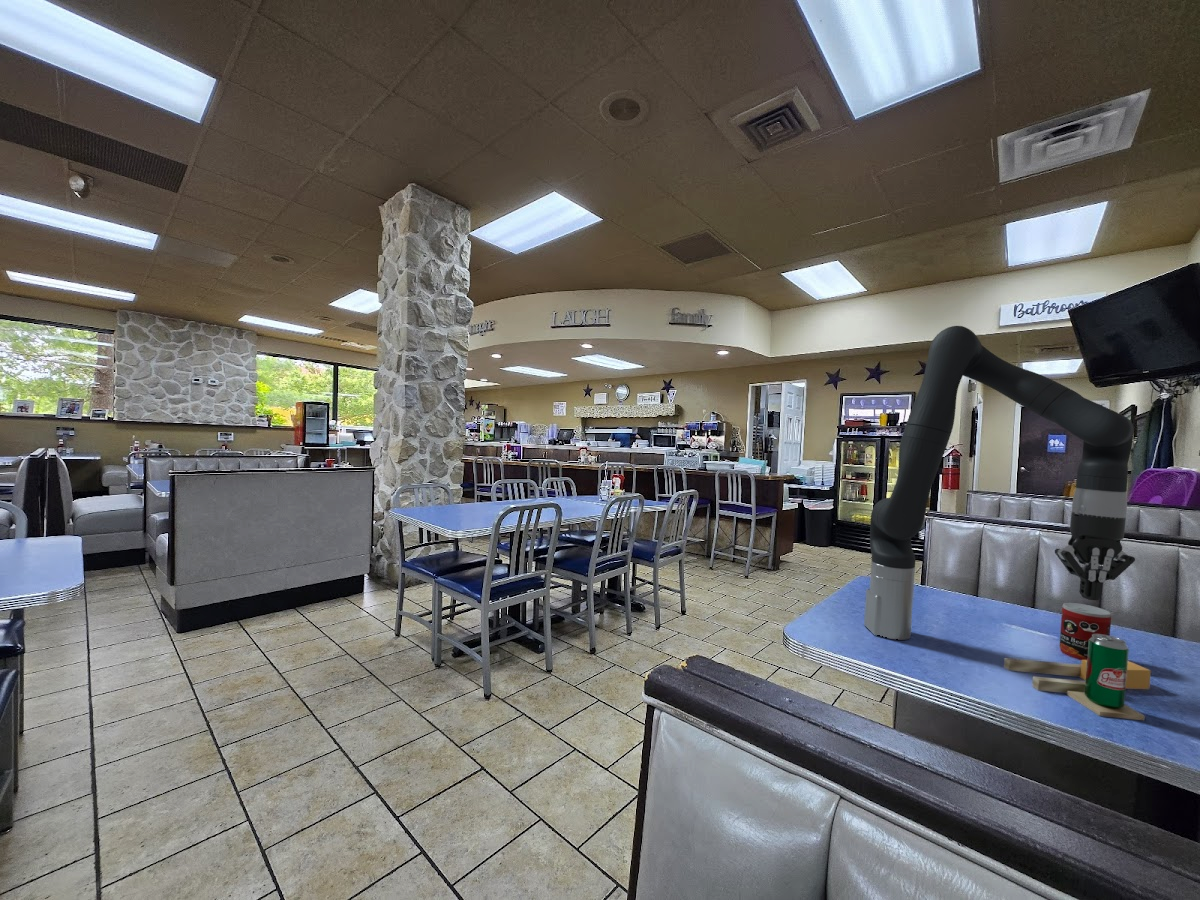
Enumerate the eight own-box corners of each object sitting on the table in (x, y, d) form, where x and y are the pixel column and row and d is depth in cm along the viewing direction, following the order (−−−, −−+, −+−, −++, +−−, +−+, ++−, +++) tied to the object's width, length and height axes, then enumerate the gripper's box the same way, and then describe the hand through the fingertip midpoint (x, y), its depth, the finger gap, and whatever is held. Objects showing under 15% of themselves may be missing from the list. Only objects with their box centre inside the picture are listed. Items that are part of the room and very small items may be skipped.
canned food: (1049, 648, 114) (1053, 602, 114) (1080, 648, 115) (1084, 602, 114) (1085, 663, 107) (1088, 614, 106) (1117, 663, 107) (1121, 614, 107)
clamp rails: (1038, 690, 94) (1038, 680, 94) (1003, 666, 104) (1004, 657, 103) (1122, 698, 92) (1122, 688, 92) (1079, 673, 102) (1080, 664, 102)
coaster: (1099, 715, 86) (1100, 711, 86) (1067, 694, 93) (1067, 690, 93) (1144, 720, 85) (1144, 715, 85) (1108, 698, 92) (1108, 694, 92)
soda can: (1098, 708, 87) (1103, 642, 86) (1076, 693, 92) (1081, 631, 91) (1132, 712, 86) (1137, 646, 85) (1108, 697, 91) (1113, 634, 90)
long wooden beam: (1100, 689, 96) (1102, 669, 96) (1080, 678, 100) (1081, 659, 100) (1149, 690, 96) (1150, 670, 96) (1126, 679, 100) (1128, 660, 100)
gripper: (1118, 512, 98) (1110, 596, 99) (1046, 507, 100) (1038, 589, 101) (1155, 518, 91) (1146, 609, 92) (1076, 513, 93) (1067, 602, 94)
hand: (1089, 598), depth 96 cm, fingers closed
